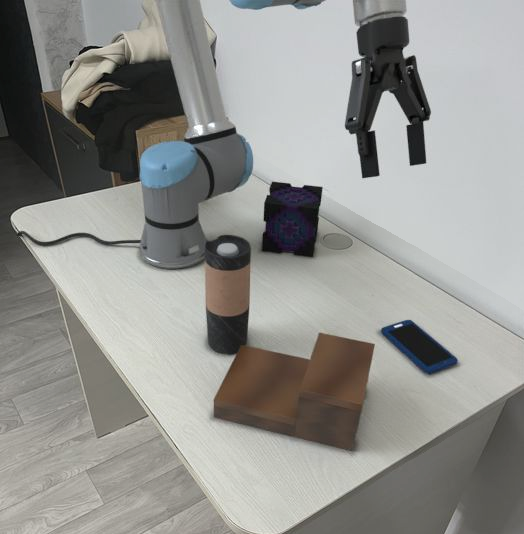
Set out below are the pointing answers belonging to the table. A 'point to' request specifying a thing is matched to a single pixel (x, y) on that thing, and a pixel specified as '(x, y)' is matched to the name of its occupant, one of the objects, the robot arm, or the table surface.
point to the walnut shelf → (299, 390)
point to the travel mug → (227, 292)
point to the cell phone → (419, 346)
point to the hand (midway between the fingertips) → (395, 170)
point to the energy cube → (291, 219)
